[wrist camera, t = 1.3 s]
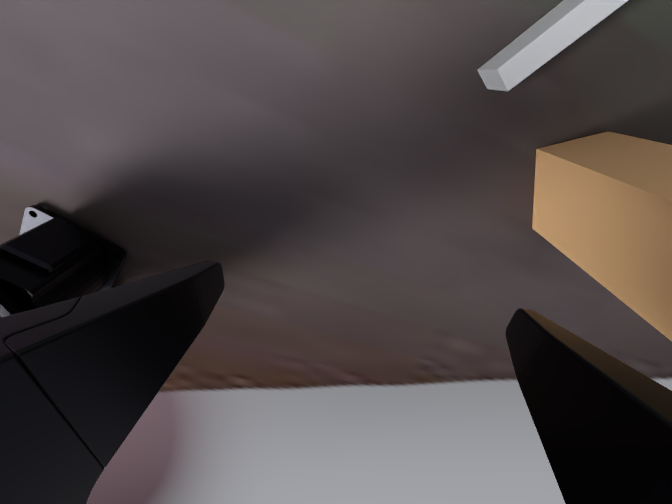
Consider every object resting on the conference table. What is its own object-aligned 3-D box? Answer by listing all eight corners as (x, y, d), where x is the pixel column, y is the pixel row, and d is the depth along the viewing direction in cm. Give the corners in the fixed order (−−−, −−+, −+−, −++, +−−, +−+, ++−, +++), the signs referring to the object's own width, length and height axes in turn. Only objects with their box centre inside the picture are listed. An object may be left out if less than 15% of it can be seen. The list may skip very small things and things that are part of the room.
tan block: (532, 228, 22) (710, 372, 11) (536, 148, 19) (774, 240, 9) (595, 215, 21) (844, 354, 11) (608, 131, 18) (956, 206, 8)
